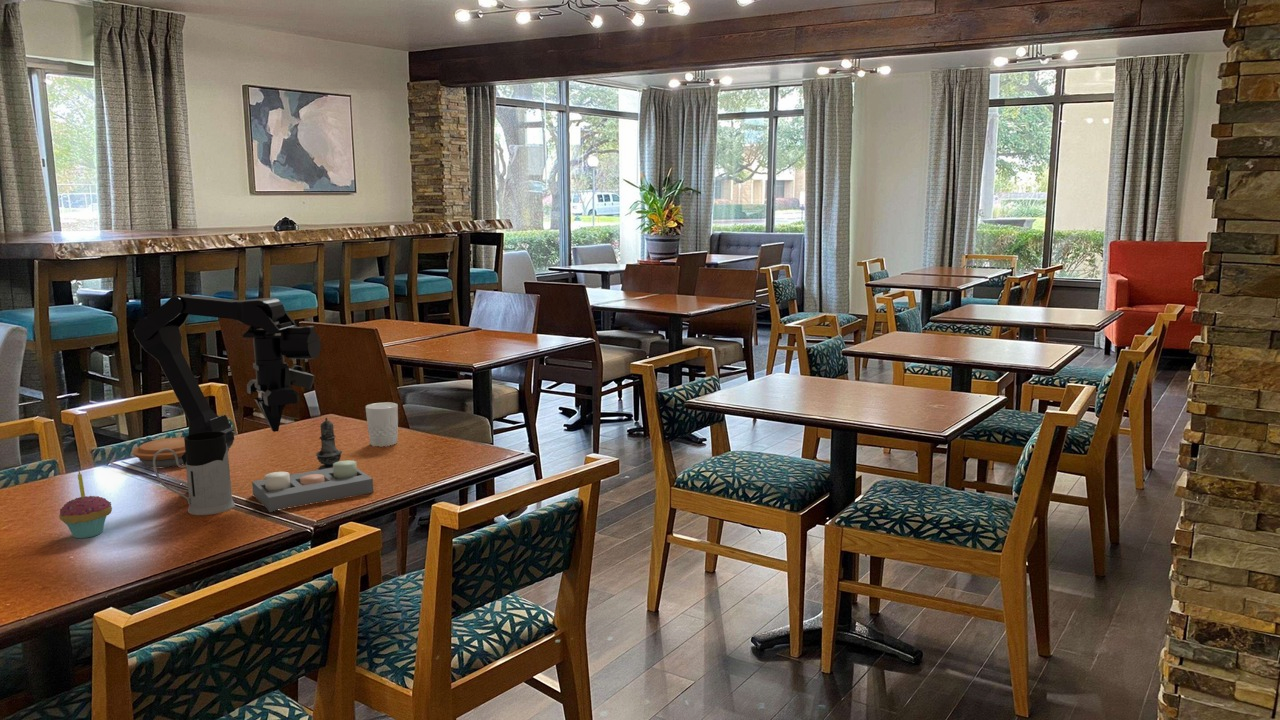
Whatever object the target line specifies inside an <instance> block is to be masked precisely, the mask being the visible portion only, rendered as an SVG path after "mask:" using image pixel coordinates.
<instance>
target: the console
mask: <svg viewBox="0 0 1280 720" xmlns="http://www.w3.org/2000/svg"><path fill="white" fill-rule="evenodd" d="M311 474H321V475H324V480H325V482H320V483H315V484H309V485H303V486H302V485H301V484H300V478H301V477H303V476H306V475H311ZM289 475H290V488H287V489H281V490H275V491H270V492H267V491H266V489H265V478H264V479H257V480H253V481H251V486H252V487H251V488H252V496H253V495H254V496H255V497H256V498H257V499H258V500H259V501H260V502H261V503H262V504H263V505H264V506H265V507H266V508H267V509H266V508H265V507H264V506H263V505H262V504H261V503H260V502H259V501H258V500H257V499H256V498H255V499H256V500H257V501H258V502H259V503H260V504H261V505H262V506H263V507H264V508H265V509H266V510H267V511H268V512H269V513H273V511H274V512H276V511H275V510H278V509H283V508H288V507H294V506H299V505H305V504H310V503H316V502H321V503H323V502H322V501H326V500H331V501H334V500H333V499H337V500H340V499H339V498H342V499H346V498H345V497H347V498H351V497H350V496H352V497H357V496H356V495H358V496H361V495H367V494H372V493H374V479H373V478H372V477H371V476H369V475H368V474H366V473H364V472H363V471H362V470H360V469H359V468H357V476H354V477H348V478H342V479H337V480H336V479H335V478H334V472H333V468H327V469H321V470H318V469H316V470H311V471H305V472H304V471H303V472H300V473H293V474H289ZM254 496H253V497H254ZM326 502H327V501H326ZM316 504H317V503H316ZM305 506H306V505H305Z"/></svg>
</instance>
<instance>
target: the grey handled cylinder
mask: <svg viewBox="0 0 1280 720" xmlns="http://www.w3.org/2000/svg"><path fill="white" fill-rule="evenodd" d="M184 442H185V452H186V465H185V464H184V465H179V462H178V456H177V454H176V453H175V452H174V451H173V450H171V449H167V448H165V449H161V450H159V451H158V452H157V453H156V454H155V455H154V457H153V467H154V468H153V472H154V474H155V476H156V478H157V479H158V481H159V483H160V484H161V485H162V486H163V487H164V488H165V489H167V490H169V491H171V492H173V493H174V494H177V495H179V496H180V497H183V498H184V499H186V500H187V504H188V508H187V513H188V514H190V515H193V516H209V515H215V514H220V513H223V512H228V511H230V510H232V509H234V508H235V506H236V503H235V501H234V500H233V494H232V493H233V491H232V481H231V473H230V471H231V470H230V461H229V459H230V458H229V451H228V447H227V443H226V436H225V433H224V432H218V431H211V432H200V433H195V434H191V435H189V434H188V435H186V436H184ZM165 450H168V451H171V452H172V453H173V454H174V456H175V459H176V464H177V466H176V467H179V468H185V473H186V480H187V491H188V496H186V495H184V494H183V493H181V492H179V491H177V490H175V489H174V488H171V487H170V486H169V485H167V484H166V483H165V482H164V481H163V480H162V478H161V476H160V475H159V473H158V471H157V468H156V465H155V459H156V456H157V455H158V454H159V453H160V452H162V451H165Z"/></svg>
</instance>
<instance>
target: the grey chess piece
mask: <svg viewBox="0 0 1280 720" xmlns="http://www.w3.org/2000/svg"><path fill="white" fill-rule="evenodd" d="M320 435H321V436H319V439H320V443H321V444H320V445H321V447H320V451H318V452H315V456H316V458H317V461H318V463H320V464H321V465H320V466H318V468H317V470H321V469H327V468H333V464H334V463H336V462H339V461H341V457H342V454H343V451H342V450H341V449H338V448H337V446H336V441H335V439H336V435H335V430H334V423H333V422H332V421H329V419H328V418H327V417H325V418H324V421H323V422H322V423H320Z"/></svg>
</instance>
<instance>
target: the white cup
mask: <svg viewBox="0 0 1280 720" xmlns="http://www.w3.org/2000/svg"><path fill="white" fill-rule="evenodd" d="M398 407H399V406H398V403H397V402H396V403H395V402H389V401H387V402H376V403H369V404H367V405H365V413H366V414H365V415H366V423H367V432H368V435H369V444H370V446H371V445H372V447H375V446H379V447H378V448H380V447H381V448H383V446H385V447H391V446H395V445H396V443H397V444H398V442H399V441H398V432H399V428H398V426H399V413H398V412H399V410H398V409H399V408H398ZM394 444H395V445H394ZM390 445H391V446H390Z"/></svg>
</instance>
